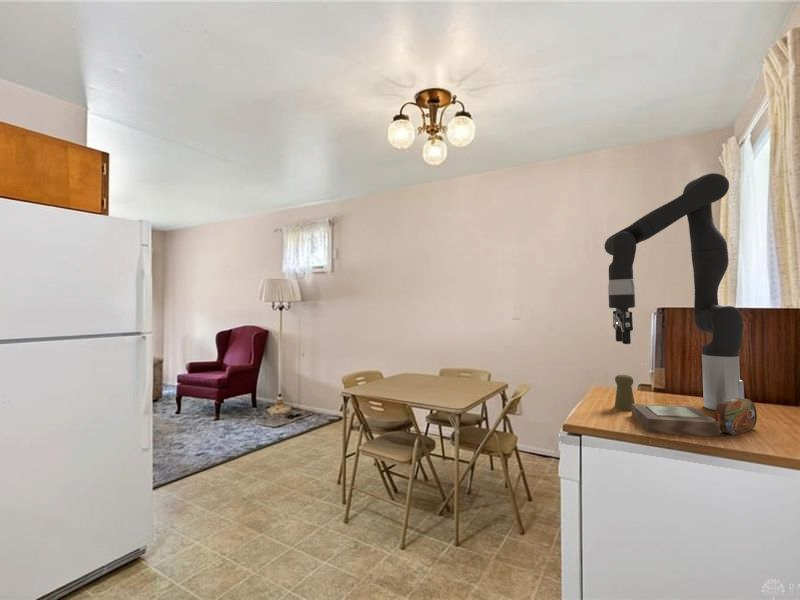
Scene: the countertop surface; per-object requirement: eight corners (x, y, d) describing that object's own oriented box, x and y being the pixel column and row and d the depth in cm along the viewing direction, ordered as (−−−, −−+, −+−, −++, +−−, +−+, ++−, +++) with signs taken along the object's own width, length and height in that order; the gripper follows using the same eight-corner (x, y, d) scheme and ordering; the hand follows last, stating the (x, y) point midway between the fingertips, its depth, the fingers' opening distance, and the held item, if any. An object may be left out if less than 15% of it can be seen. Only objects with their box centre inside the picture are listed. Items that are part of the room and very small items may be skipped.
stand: (693, 418, 113) (692, 405, 113) (720, 436, 98) (719, 421, 98) (631, 415, 118) (631, 402, 118) (648, 432, 102) (648, 417, 103)
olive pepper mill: (610, 406, 128) (609, 373, 128) (627, 405, 129) (626, 373, 129) (622, 411, 122) (621, 377, 122) (640, 410, 123) (639, 376, 123)
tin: (727, 437, 97) (725, 404, 98) (713, 433, 100) (711, 401, 100) (759, 428, 103) (757, 397, 104) (744, 425, 106) (743, 395, 106)
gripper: (640, 292, 118) (642, 345, 118) (628, 293, 132) (629, 340, 131) (613, 293, 120) (615, 344, 120) (604, 294, 134) (605, 340, 134)
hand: (623, 342), depth 126 cm, fingers open, 8 cm apart
